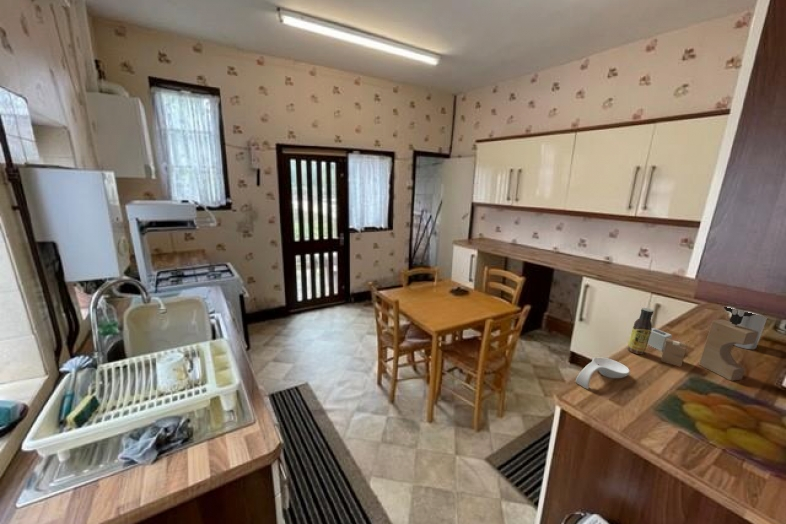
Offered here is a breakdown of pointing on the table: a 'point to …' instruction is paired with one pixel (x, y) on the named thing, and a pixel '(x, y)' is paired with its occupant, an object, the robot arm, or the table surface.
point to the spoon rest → (601, 370)
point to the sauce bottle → (641, 332)
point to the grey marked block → (658, 339)
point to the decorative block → (725, 348)
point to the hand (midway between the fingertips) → (734, 323)
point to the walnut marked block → (673, 352)
